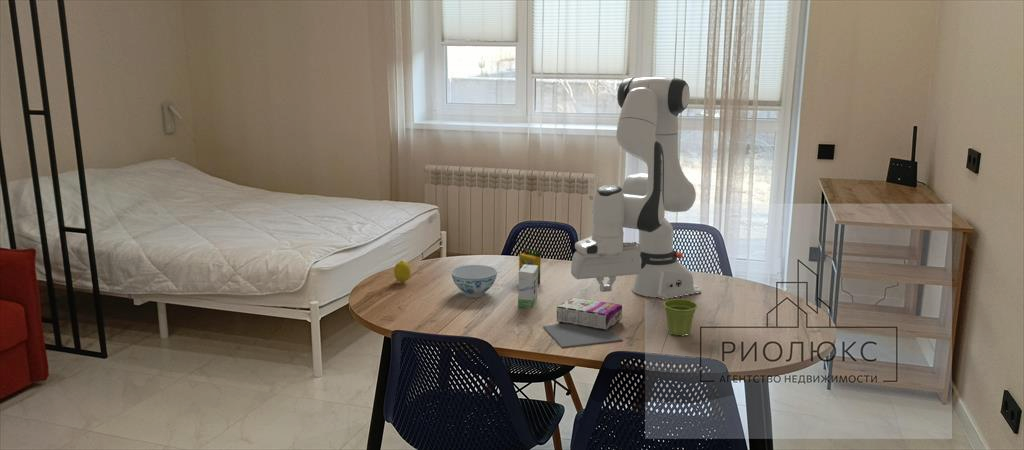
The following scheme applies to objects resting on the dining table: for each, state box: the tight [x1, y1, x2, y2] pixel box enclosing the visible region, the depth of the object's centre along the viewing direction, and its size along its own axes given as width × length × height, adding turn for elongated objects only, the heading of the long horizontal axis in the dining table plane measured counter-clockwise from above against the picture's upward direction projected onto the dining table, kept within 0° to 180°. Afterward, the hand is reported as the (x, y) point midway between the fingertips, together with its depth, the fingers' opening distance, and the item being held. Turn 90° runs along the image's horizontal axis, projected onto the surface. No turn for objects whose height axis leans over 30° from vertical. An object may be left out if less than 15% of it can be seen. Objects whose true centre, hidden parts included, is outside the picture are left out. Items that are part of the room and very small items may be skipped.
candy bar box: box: [556, 297, 623, 330], centre depth 230 cm, size 11×5×16 cm
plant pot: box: [663, 298, 698, 336], centre depth 222 cm, size 9×9×9 cm
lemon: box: [393, 260, 411, 284], centre depth 266 cm, size 6×6×8 cm
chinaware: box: [450, 264, 498, 298], centre depth 255 cm, size 15×15×8 cm
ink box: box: [517, 264, 539, 309], centre depth 245 cm, size 9×5×12 cm, turn 168°
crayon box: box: [518, 247, 542, 285], centre depth 266 cm, size 7×3×12 cm, turn 49°
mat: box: [542, 323, 624, 349], centre depth 222 cm, size 18×16×1 cm
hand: (605, 291), depth 220 cm, fingers closed
